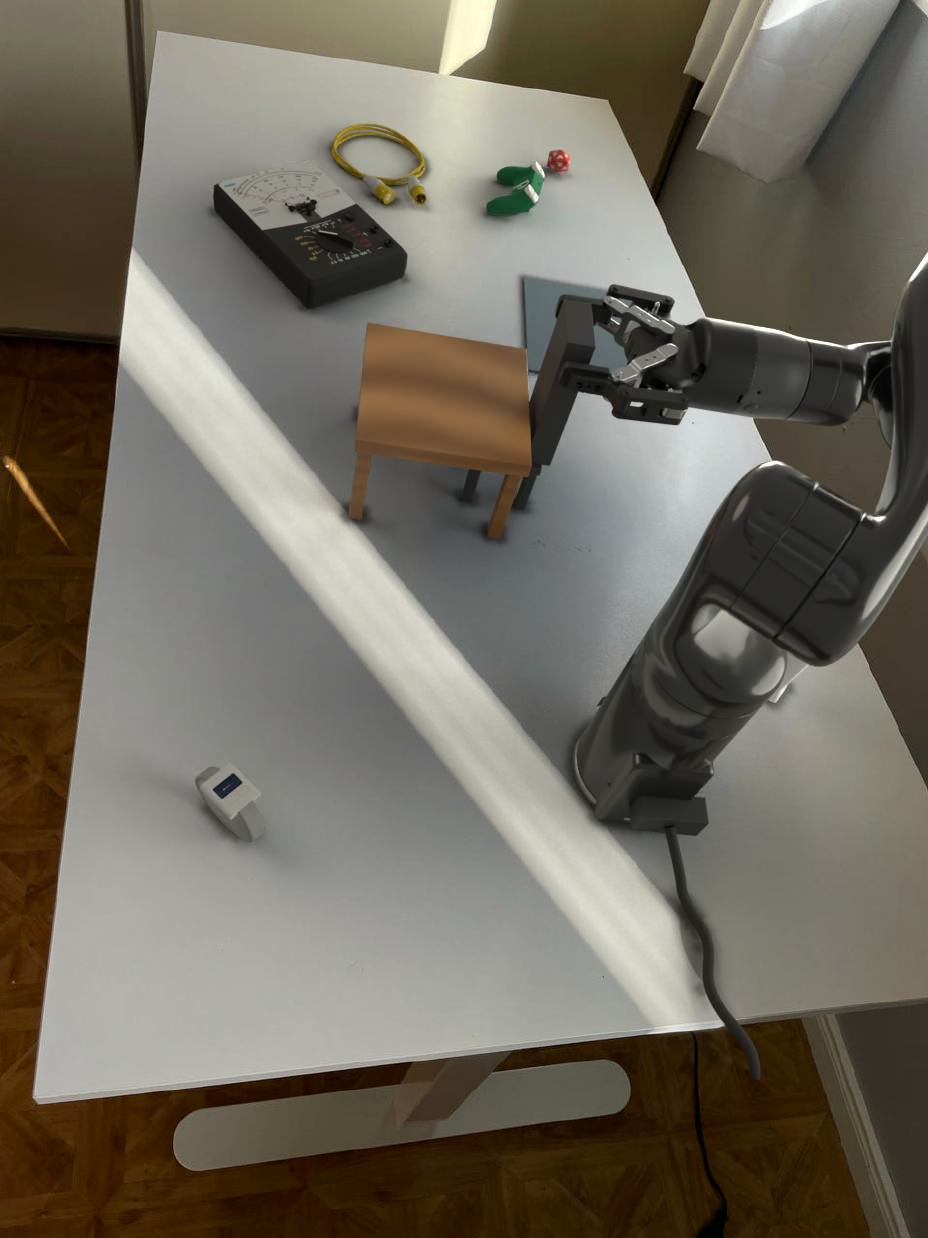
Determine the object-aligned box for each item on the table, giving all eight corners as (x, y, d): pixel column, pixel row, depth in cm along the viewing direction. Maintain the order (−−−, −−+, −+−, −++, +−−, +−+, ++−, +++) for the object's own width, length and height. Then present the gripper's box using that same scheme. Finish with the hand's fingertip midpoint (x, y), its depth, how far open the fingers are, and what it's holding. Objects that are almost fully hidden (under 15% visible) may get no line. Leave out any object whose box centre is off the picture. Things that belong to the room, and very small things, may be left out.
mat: (651, 390, 110) (651, 389, 110) (527, 370, 108) (528, 369, 108) (637, 298, 119) (638, 297, 119) (523, 278, 117) (524, 276, 117)
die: (541, 164, 132) (547, 142, 129) (563, 165, 133) (569, 143, 130) (548, 177, 130) (554, 156, 128) (569, 178, 131) (576, 157, 129)
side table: (503, 542, 93) (532, 465, 85) (343, 521, 91) (355, 439, 82) (501, 428, 102) (527, 348, 93) (355, 406, 99) (367, 322, 91)
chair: (531, 463, 100) (591, 299, 84) (533, 512, 96) (596, 351, 80) (460, 453, 99) (506, 284, 83) (459, 502, 95) (508, 336, 79)
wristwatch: (273, 834, 73) (276, 806, 69) (243, 859, 71) (245, 832, 67) (216, 777, 75) (216, 746, 70) (187, 801, 73) (185, 770, 69)
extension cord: (323, 194, 118) (324, 178, 117) (337, 124, 128) (338, 108, 126) (424, 214, 120) (426, 199, 119) (430, 143, 129) (433, 129, 128)
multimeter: (308, 313, 106) (311, 273, 102) (211, 210, 112) (211, 169, 108) (405, 280, 112) (412, 241, 108) (308, 185, 119) (311, 145, 115)
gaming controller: (498, 233, 124) (539, 213, 121) (482, 207, 122) (524, 186, 119) (510, 194, 129) (550, 174, 126) (495, 168, 127) (536, 147, 124)
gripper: (747, 282, 87) (567, 248, 84) (774, 394, 78) (576, 361, 76) (713, 349, 93) (544, 319, 90) (735, 460, 85) (550, 431, 82)
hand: (559, 339), depth 83 cm, fingers open, 8 cm apart
